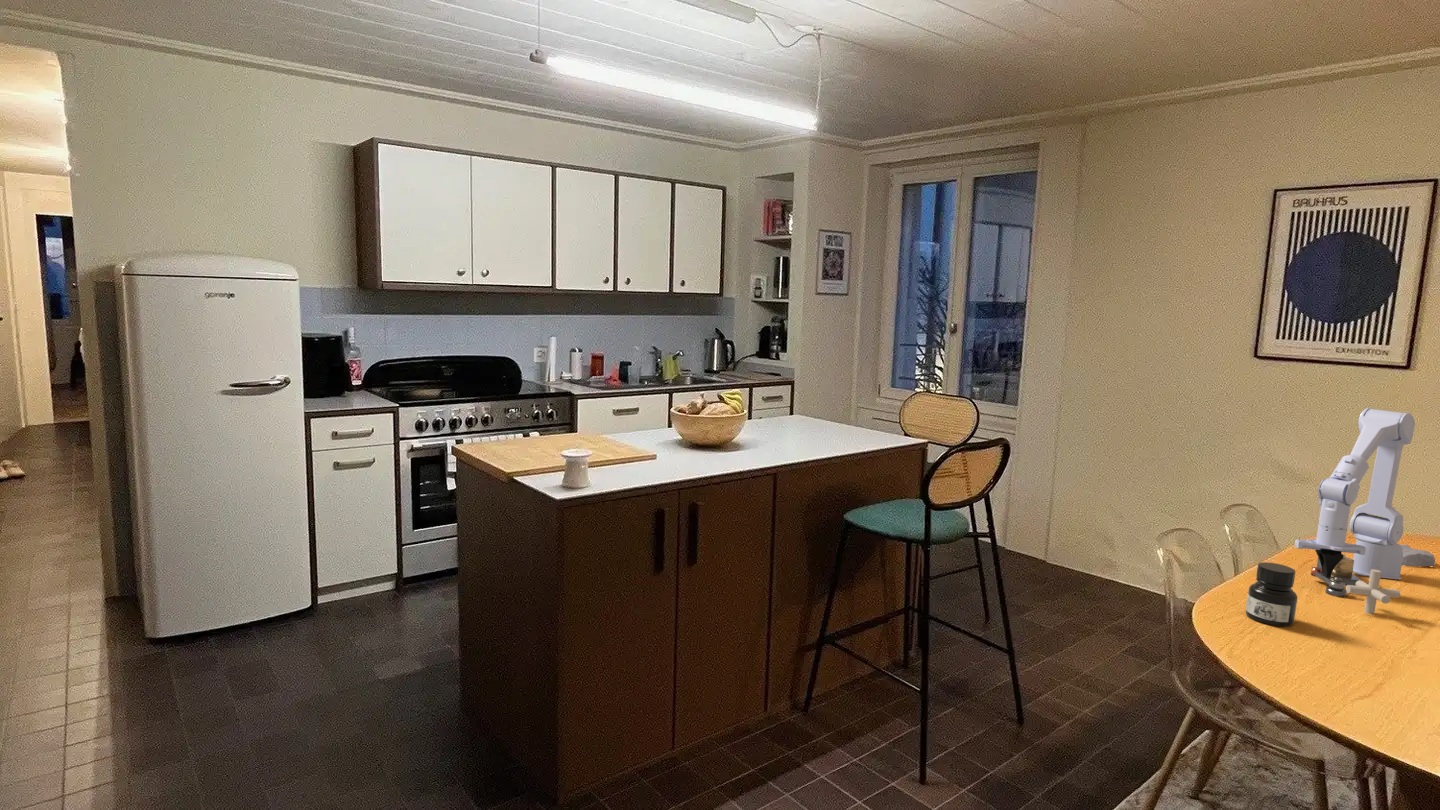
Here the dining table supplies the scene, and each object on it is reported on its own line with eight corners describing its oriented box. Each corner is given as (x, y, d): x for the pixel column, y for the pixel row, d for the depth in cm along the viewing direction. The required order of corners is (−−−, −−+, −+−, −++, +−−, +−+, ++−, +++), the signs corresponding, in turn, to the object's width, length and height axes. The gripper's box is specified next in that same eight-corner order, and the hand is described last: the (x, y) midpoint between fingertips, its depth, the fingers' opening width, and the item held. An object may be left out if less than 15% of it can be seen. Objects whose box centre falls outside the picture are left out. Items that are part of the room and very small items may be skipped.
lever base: (1340, 592, 195) (1343, 576, 194) (1349, 598, 191) (1351, 582, 190) (1322, 590, 196) (1324, 574, 195) (1330, 595, 192) (1332, 580, 191)
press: (1337, 570, 211) (1341, 545, 210) (1361, 586, 199) (1365, 559, 198) (1307, 567, 213) (1311, 542, 212) (1329, 582, 201) (1333, 556, 200)
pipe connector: (1408, 623, 176) (1415, 580, 175) (1357, 618, 178) (1364, 575, 177) (1380, 606, 186) (1387, 565, 185) (1332, 601, 188) (1339, 561, 186)
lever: (1319, 574, 202) (1321, 567, 202) (1347, 591, 191) (1348, 583, 191) (1306, 573, 203) (1308, 566, 203) (1333, 589, 192) (1334, 582, 191)
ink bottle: (1235, 615, 177) (1242, 563, 176) (1254, 607, 182) (1261, 557, 180) (1284, 631, 169) (1292, 577, 168) (1303, 623, 174) (1311, 571, 172)
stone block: (1403, 573, 217) (1439, 567, 217) (1402, 556, 216) (1438, 551, 216) (1367, 560, 229) (1401, 555, 228) (1366, 544, 228) (1400, 539, 228)
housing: (1346, 572, 205) (1349, 553, 204) (1355, 578, 200) (1358, 559, 200) (1324, 569, 207) (1326, 550, 206) (1331, 575, 202) (1334, 556, 201)
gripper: (1306, 527, 195) (1299, 580, 197) (1375, 533, 192) (1367, 587, 193) (1294, 520, 202) (1286, 571, 204) (1360, 525, 198) (1352, 577, 200)
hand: (1325, 578), depth 199 cm, fingers closed, pressing on lever
